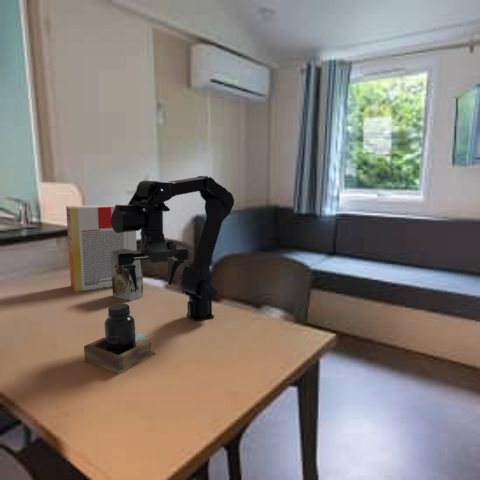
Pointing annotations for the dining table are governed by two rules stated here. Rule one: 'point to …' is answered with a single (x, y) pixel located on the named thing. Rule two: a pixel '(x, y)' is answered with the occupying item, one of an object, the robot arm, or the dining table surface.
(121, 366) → the walnut well
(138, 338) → the mounting bracket
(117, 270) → the coffee box
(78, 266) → the pasta box
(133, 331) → the supplement bottle
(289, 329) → the dining table surface
